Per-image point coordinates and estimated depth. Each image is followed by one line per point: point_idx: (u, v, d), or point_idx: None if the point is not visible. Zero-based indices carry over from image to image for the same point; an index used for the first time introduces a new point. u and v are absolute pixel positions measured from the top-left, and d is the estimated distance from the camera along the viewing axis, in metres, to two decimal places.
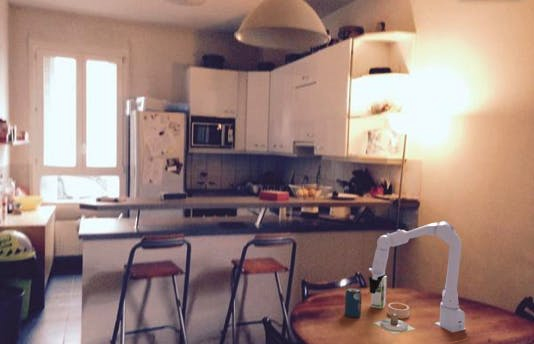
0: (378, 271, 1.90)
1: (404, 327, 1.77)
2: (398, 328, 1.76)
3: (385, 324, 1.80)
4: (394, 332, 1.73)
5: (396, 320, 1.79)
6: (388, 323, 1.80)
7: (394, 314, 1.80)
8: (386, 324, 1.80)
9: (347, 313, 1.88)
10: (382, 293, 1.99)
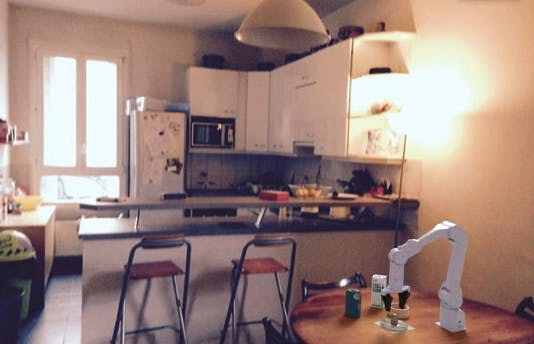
0: (392, 288, 1.77)
1: (404, 327, 1.77)
2: (398, 328, 1.76)
3: (385, 324, 1.80)
4: (394, 332, 1.73)
5: (396, 320, 1.79)
6: (388, 323, 1.80)
7: (394, 314, 1.80)
8: (386, 323, 1.80)
9: (347, 313, 1.88)
10: None
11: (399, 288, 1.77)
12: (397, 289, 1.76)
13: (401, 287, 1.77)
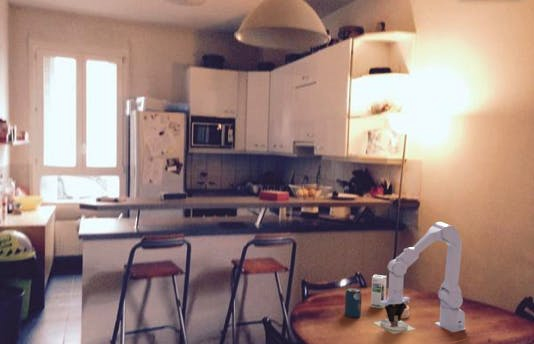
0: (391, 299, 1.78)
1: (404, 327, 1.77)
2: (398, 328, 1.76)
3: (385, 324, 1.79)
4: (394, 332, 1.73)
5: (396, 320, 1.79)
6: (388, 323, 1.80)
7: None
8: (386, 323, 1.80)
9: (347, 313, 1.88)
10: (382, 293, 1.99)
11: (398, 299, 1.77)
12: (397, 300, 1.77)
13: (400, 298, 1.77)
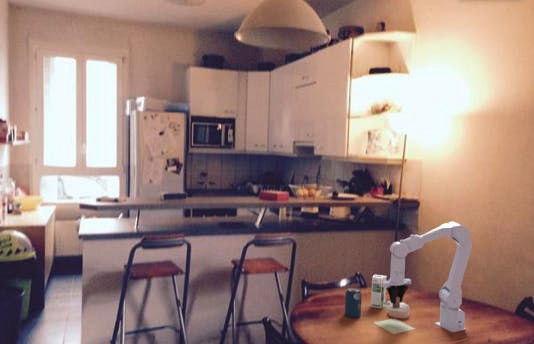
0: (393, 280, 1.80)
1: (406, 308, 1.79)
2: (400, 309, 1.78)
3: (387, 305, 1.82)
4: (394, 332, 1.73)
5: (398, 301, 1.81)
6: (390, 305, 1.83)
7: (396, 296, 1.82)
8: (388, 305, 1.82)
9: (347, 313, 1.88)
10: (382, 293, 1.99)
11: (400, 281, 1.79)
12: (398, 282, 1.79)
13: (402, 280, 1.80)
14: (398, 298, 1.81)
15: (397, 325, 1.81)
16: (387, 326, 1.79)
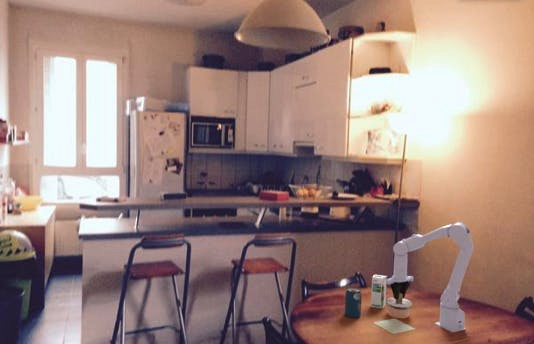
0: (396, 277, 1.90)
1: (408, 304, 1.89)
2: (402, 305, 1.88)
3: (391, 301, 1.92)
4: (394, 332, 1.73)
5: (400, 298, 1.91)
6: (393, 301, 1.93)
7: (399, 292, 1.93)
8: (391, 301, 1.93)
9: (347, 313, 1.88)
10: (382, 293, 1.99)
11: (403, 278, 1.89)
12: (401, 278, 1.89)
13: (405, 277, 1.90)
14: (401, 294, 1.91)
15: (397, 325, 1.81)
16: (387, 326, 1.79)
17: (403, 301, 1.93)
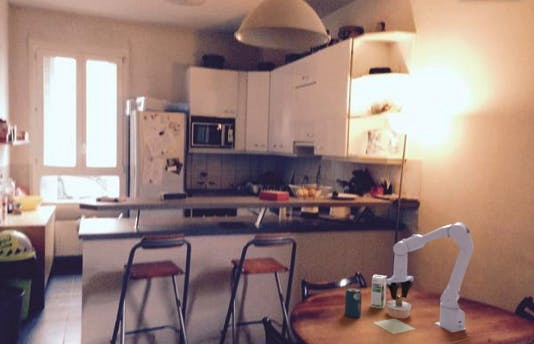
0: (396, 277, 1.90)
1: (408, 307, 1.89)
2: (402, 308, 1.88)
3: (390, 304, 1.93)
4: (394, 332, 1.73)
5: (400, 301, 1.91)
6: (393, 304, 1.93)
7: (399, 295, 1.93)
8: (391, 304, 1.93)
9: (347, 313, 1.88)
10: (382, 293, 1.99)
11: (403, 278, 1.89)
12: (401, 278, 1.89)
13: (405, 277, 1.90)
14: (400, 298, 1.91)
15: (397, 325, 1.81)
16: (387, 326, 1.79)
17: (403, 304, 1.93)
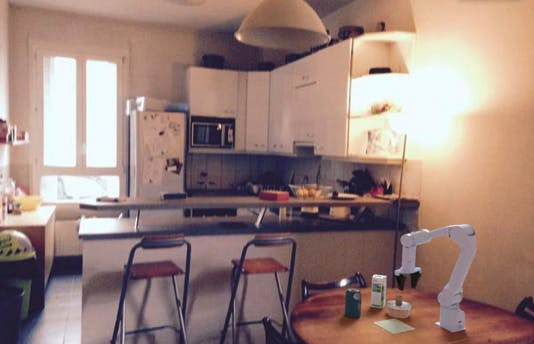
0: (404, 269, 1.95)
1: (408, 307, 1.89)
2: (402, 308, 1.88)
3: (390, 304, 1.93)
4: (394, 332, 1.73)
5: (400, 301, 1.91)
6: (393, 304, 1.93)
7: (399, 295, 1.93)
8: (391, 304, 1.93)
9: (347, 313, 1.88)
10: (382, 293, 1.99)
11: (411, 269, 1.94)
12: (410, 270, 1.94)
13: (413, 268, 1.95)
14: (400, 298, 1.91)
15: (397, 325, 1.81)
16: (387, 326, 1.79)
17: (403, 304, 1.93)
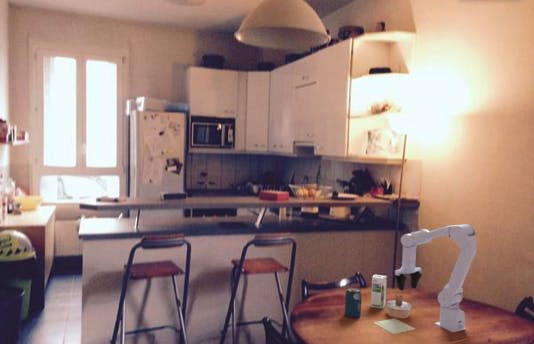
0: (405, 268, 1.95)
1: (408, 307, 1.89)
2: (402, 308, 1.88)
3: (390, 304, 1.93)
4: (394, 332, 1.73)
5: (400, 301, 1.91)
6: (393, 304, 1.93)
7: (399, 295, 1.93)
8: (391, 304, 1.93)
9: (347, 313, 1.88)
10: (382, 293, 1.99)
11: (412, 269, 1.94)
12: (410, 270, 1.94)
13: (413, 268, 1.95)
14: (400, 298, 1.91)
15: (397, 325, 1.81)
16: (387, 326, 1.79)
17: (403, 304, 1.93)
